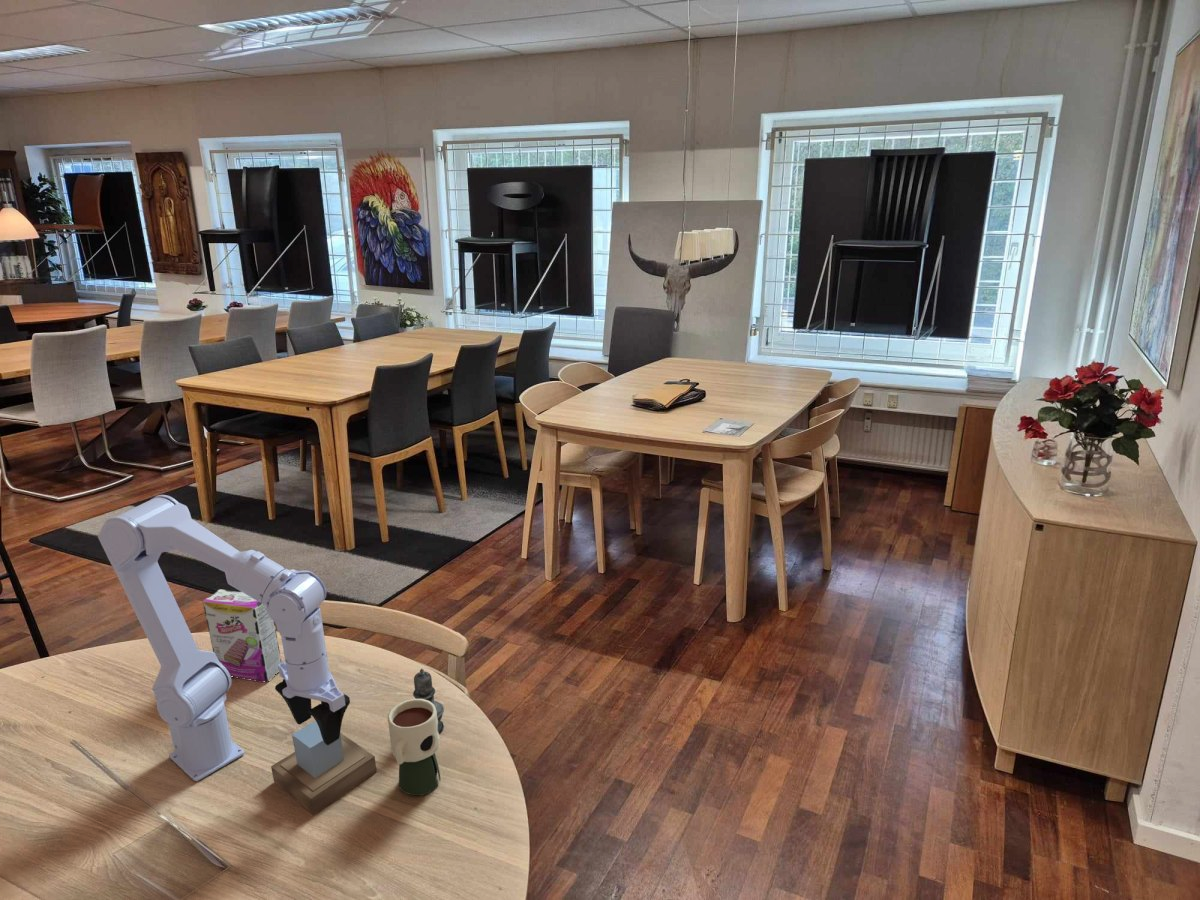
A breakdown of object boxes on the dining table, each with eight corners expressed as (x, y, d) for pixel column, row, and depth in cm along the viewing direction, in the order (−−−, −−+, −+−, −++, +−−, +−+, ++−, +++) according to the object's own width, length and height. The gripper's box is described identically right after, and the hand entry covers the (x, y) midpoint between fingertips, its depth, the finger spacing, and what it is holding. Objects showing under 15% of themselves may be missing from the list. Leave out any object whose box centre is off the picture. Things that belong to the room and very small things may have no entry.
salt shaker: (437, 742, 124) (430, 681, 120) (404, 738, 125) (397, 677, 122) (451, 719, 130) (445, 660, 126) (419, 716, 131) (412, 656, 127)
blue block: (297, 764, 116) (291, 734, 114) (326, 746, 119) (321, 717, 118) (315, 778, 113) (310, 748, 111) (344, 759, 116) (339, 730, 115)
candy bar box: (216, 677, 143) (200, 601, 137) (234, 662, 147) (219, 588, 142) (267, 684, 140) (253, 607, 135) (284, 669, 145) (271, 593, 140)
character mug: (426, 814, 110) (418, 740, 106) (382, 807, 111) (372, 734, 107) (455, 762, 120) (449, 693, 116) (414, 756, 121) (406, 688, 117)
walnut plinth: (273, 782, 116) (270, 765, 115) (336, 743, 125) (333, 727, 124) (313, 815, 110) (310, 798, 109) (376, 771, 118) (374, 755, 117)
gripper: (254, 649, 112) (267, 725, 116) (308, 685, 103) (321, 766, 107) (297, 628, 117) (309, 702, 121) (352, 661, 108) (363, 739, 113)
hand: (317, 730), depth 115 cm, fingers open, 7 cm apart
